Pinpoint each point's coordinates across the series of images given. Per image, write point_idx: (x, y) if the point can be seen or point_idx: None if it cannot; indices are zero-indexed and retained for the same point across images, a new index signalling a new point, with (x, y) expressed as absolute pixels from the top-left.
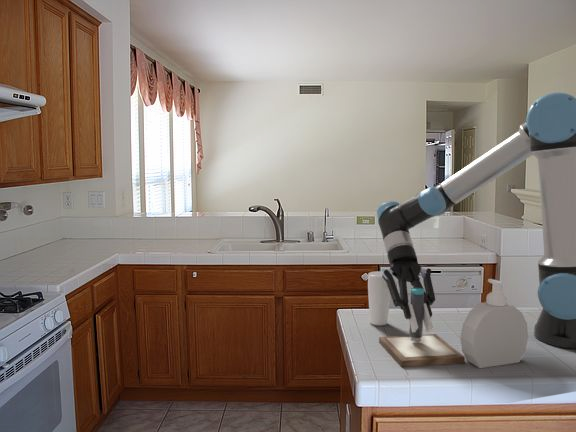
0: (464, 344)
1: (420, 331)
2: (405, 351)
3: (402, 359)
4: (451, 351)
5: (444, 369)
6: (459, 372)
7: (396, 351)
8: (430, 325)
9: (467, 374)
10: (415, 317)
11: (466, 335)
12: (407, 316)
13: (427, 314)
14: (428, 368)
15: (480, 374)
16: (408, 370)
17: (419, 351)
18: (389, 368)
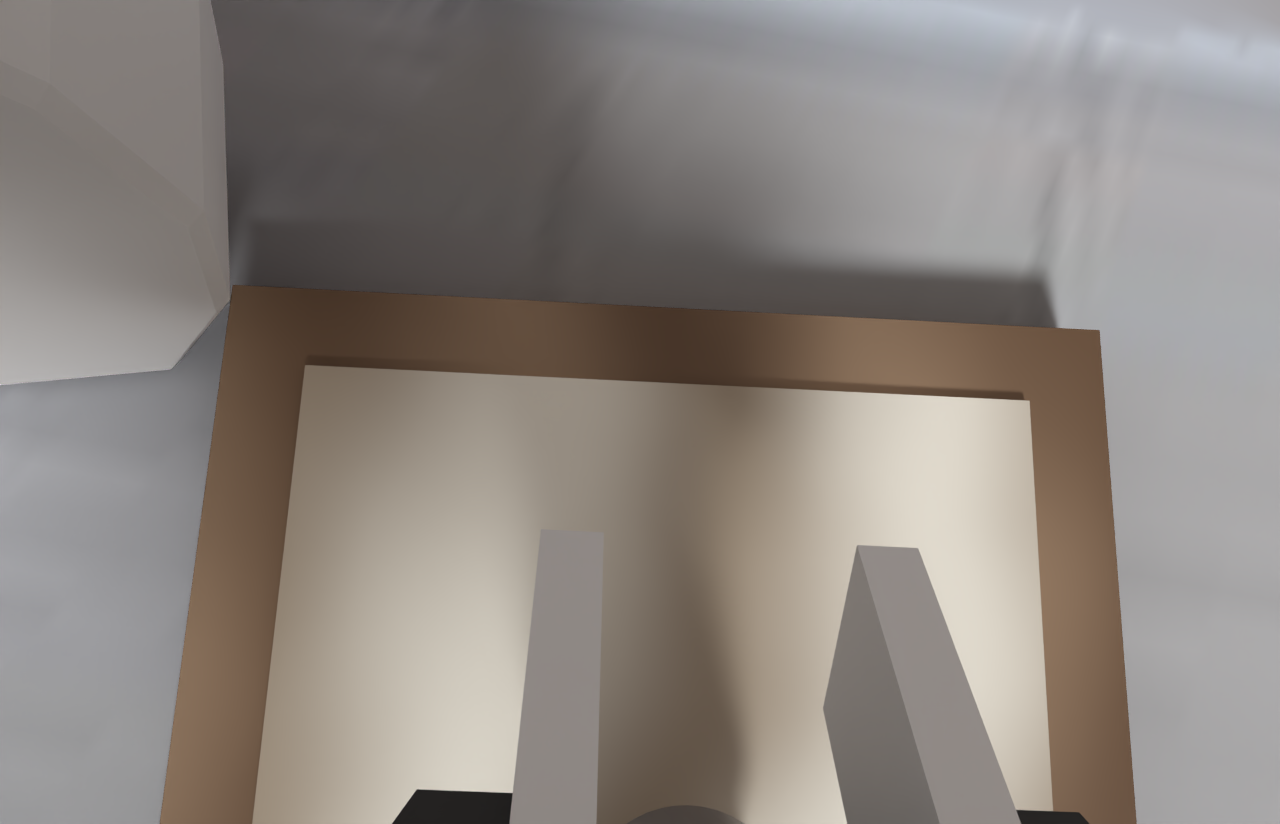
0: (212, 165)
1: (660, 820)
2: (958, 585)
3: (1072, 368)
4: (312, 461)
5: (595, 202)
6: (470, 103)
7: (1069, 638)
8: (589, 546)
9: (412, 44)
10: (908, 711)
11: (157, 37)
12: (1082, 821)
13: (570, 748)
14: (765, 261)
15: (271, 16)
16: (1011, 257)
17: (763, 546)
18: (1209, 347)
